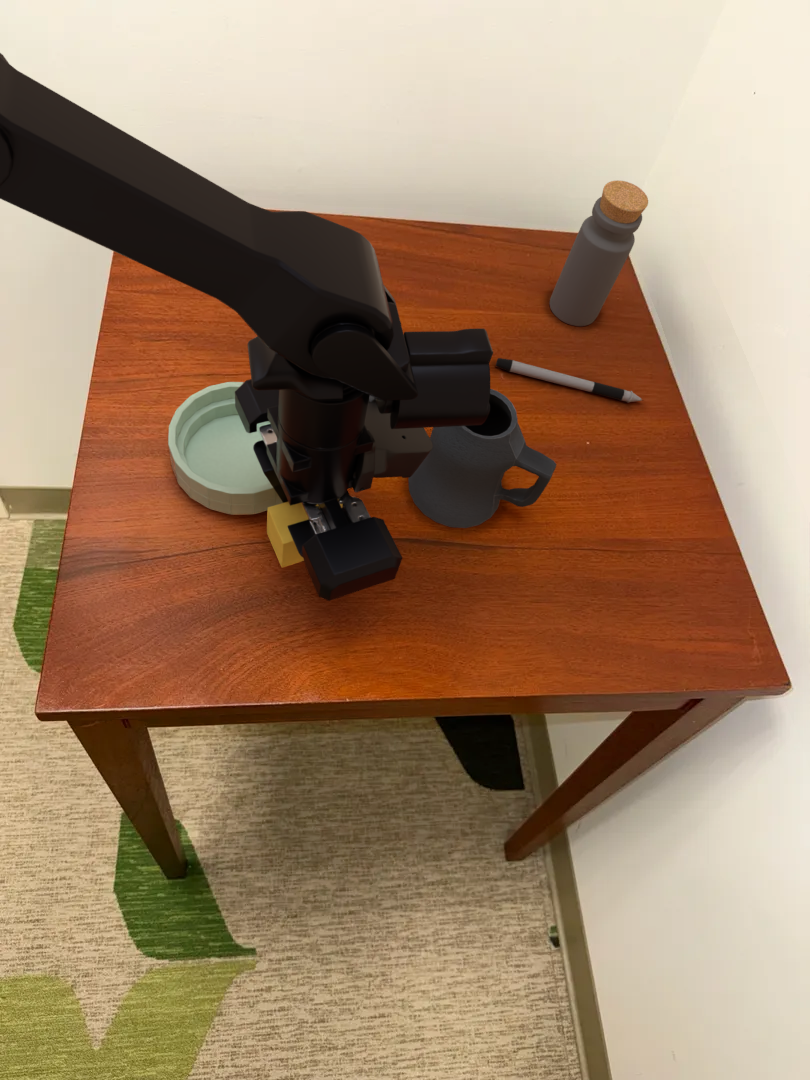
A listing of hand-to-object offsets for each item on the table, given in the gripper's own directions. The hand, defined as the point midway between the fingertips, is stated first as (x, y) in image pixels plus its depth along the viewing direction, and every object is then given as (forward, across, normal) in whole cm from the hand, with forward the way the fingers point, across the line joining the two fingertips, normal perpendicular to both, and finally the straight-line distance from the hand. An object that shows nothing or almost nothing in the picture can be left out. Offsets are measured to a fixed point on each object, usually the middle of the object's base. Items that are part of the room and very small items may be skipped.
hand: (307, 534), depth 64 cm
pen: (+4, +10, -34) cm, 36 cm away
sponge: (+1, 0, 0) cm, 1 cm away
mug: (+4, +1, -17) cm, 18 cm away
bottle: (+4, +20, -41) cm, 46 cm away
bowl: (+4, +11, +2) cm, 12 cm away
